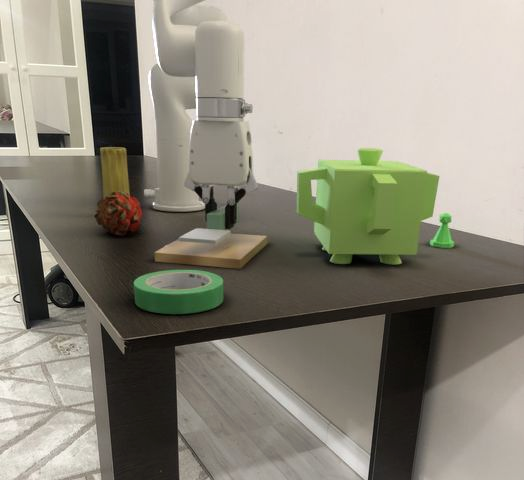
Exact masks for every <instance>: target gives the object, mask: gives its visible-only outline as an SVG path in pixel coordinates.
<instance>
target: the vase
mask: <svg viewBox="0 0 524 480" xmlns="http://www.w3.org/2000/svg"><path fill="white" fill-rule="evenodd" d="M99 152H100V161H101V174H102V176H101V177H102V193H103V194H102V195H103V196H102V197H103V199H105V197H106V196H107V195H109V194H111V193H112V192H116V193H117V192H118V191H122V192H126V193H128V194H129V197H131V194H130V181H129V180H130V179H129V172H128V156H127V149H126V148H125V147H119V146H118V147H117V146H116V147H115V146H113V147H112V146H110V147H109V146H107V147H106V146H105V147H100V148H99Z"/></svg>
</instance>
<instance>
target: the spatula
mask: <svg viewBox="0 0 524 480" xmlns="http://www.w3.org/2000/svg"><path fill="white" fill-rule="evenodd" d="M226 205H227V204H225V205H222V206H221V207H219V208H218V207H217V209H216V210H214V211H212V212H210V213H208V214H207V222H206V228H200V227H196V228H194V229H192V230H190V231H189V232H187V233H184V234H182V235H181V236H179V237H178V239H179V241H183V242H196V243H210V244H216V243H218V242H219V241H221V240H222V239H224V238H225V237H227V236H229V235H230V234H231V233H232V230H230V229H226V228H225V206H226ZM239 207H240V206H239V205H238V204H237V222H236V223H235V224H234V225H236V224H238V223H239V219H240V218H239V217H240V214H239V212H240V209H239Z"/></svg>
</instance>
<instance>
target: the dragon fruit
mask: <svg viewBox="0 0 524 480" xmlns="http://www.w3.org/2000/svg"><path fill="white" fill-rule="evenodd" d="M96 206H97V207H96V210H95V213H94V218H95V221H96V224H97V225H99V226H101V227H102V229H103V230H105V231H106V232H107V233H109V234H113V235H116V236H125V235H126V234H127V233H128V232H131V233H134V232H138V231H139V230H140V228H141V220H142V218H143V210H142V207H141V203H140V202H139V200H138V199H137V198H136V197H135V196H130V197H129V194H128V193H126V192H122V191H118V192H117V193H116V192H112V193H111V194H109V195H107V196H106V197H105V199H104V198H102V199H99V200H98V201H97V202H96Z"/></svg>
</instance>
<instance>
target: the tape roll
mask: <svg viewBox="0 0 524 480" xmlns="http://www.w3.org/2000/svg"><path fill="white" fill-rule="evenodd" d="M133 293H134V303H135V306H137V307H138V308H139V309H141V310H143V311H145V312H146V311H147V312H150V313H156V314H163V315H187V314H195V313H201V312H206V311H210V310H213V309H215V308H217V307H219V306H220V305H221V304H222V303H223V302H224V279H223V278H222V277H221V276H220V275H218V274H216V273H213V272H211V271H210V272H209V271H205V270H198V269H167V270H160V271H154V272H149V273H146V274H143V275H141V276H139V277H137V278H136V279H135V280H134V281H133Z"/></svg>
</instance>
